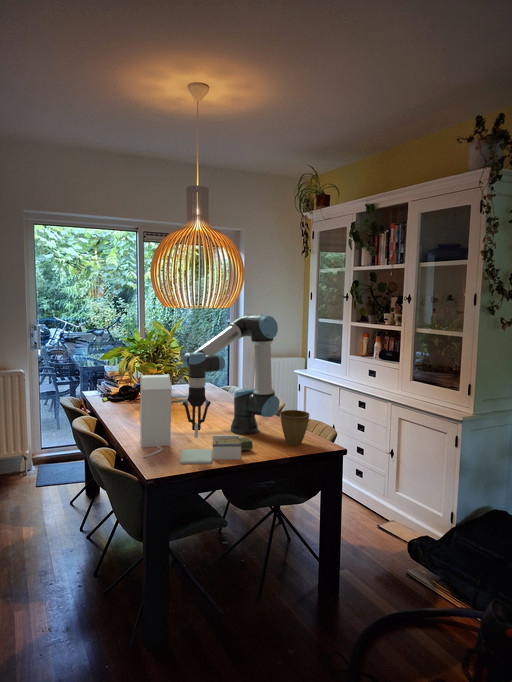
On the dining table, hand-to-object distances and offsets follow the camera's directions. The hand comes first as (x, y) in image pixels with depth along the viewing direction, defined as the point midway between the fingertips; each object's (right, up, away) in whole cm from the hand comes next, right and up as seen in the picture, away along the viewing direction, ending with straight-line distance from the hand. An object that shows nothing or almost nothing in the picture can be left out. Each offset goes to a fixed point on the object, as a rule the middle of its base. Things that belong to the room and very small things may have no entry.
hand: (196, 437), depth 230 cm
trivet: (0, -10, +1) cm, 10 cm away
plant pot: (+47, -9, +25) cm, 54 cm away
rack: (+13, -9, +8) cm, 18 cm away
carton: (+12, -11, +8) cm, 18 cm away
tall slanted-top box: (-22, -8, +16) cm, 28 cm away
